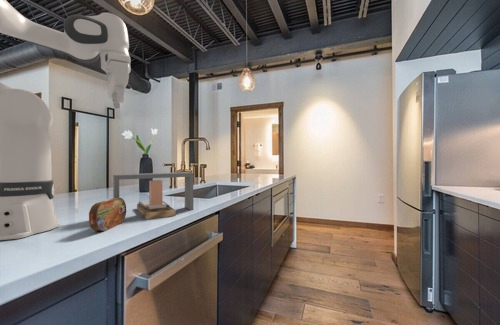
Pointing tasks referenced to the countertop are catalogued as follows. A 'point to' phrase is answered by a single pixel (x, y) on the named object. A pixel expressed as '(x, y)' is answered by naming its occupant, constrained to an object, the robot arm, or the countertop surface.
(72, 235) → the countertop surface
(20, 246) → the countertop surface
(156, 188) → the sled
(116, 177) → the archway
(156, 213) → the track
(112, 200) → the tin
